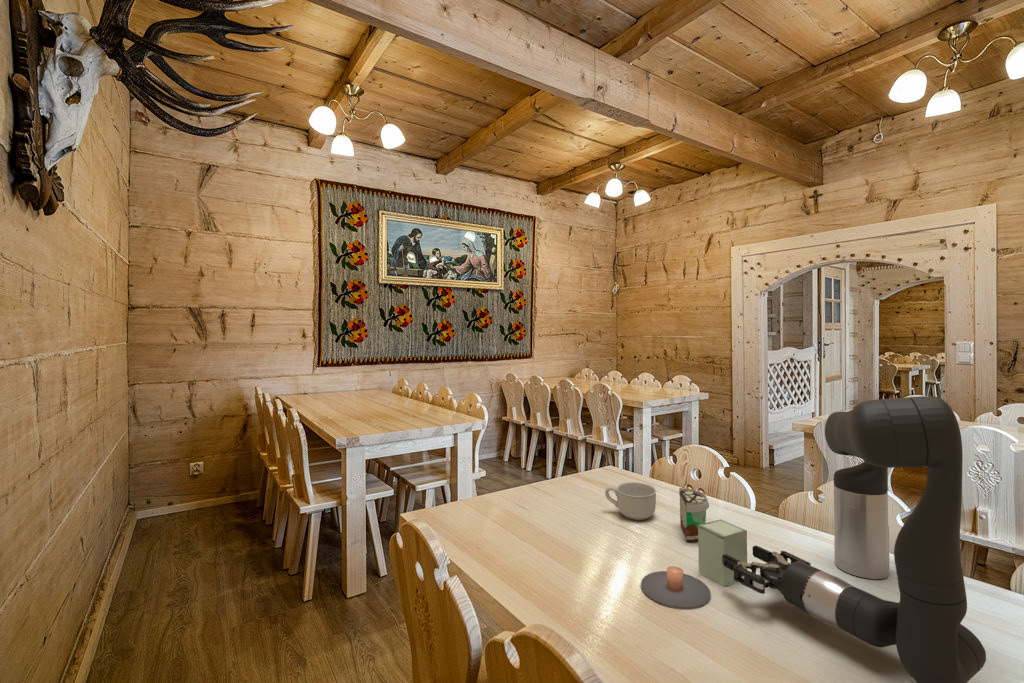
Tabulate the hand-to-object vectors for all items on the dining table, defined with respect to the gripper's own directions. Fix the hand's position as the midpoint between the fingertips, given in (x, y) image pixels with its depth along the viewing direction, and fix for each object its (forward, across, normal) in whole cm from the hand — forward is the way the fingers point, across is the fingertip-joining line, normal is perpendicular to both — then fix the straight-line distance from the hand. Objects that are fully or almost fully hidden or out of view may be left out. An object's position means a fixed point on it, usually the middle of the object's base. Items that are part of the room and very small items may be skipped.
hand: (738, 554), depth 95 cm
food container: (+21, -10, +6) cm, 24 cm away
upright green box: (+4, 0, +6) cm, 7 cm away
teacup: (+39, -4, +6) cm, 40 cm away
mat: (+4, +13, +6) cm, 15 cm away
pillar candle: (+4, +13, +6) cm, 15 cm away
